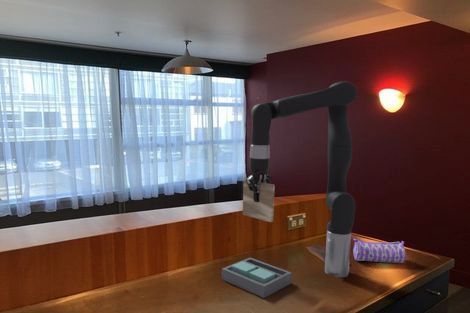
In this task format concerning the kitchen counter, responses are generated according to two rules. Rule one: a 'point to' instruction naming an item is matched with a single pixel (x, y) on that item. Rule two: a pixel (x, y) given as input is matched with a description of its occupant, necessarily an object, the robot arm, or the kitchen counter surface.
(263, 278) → the offcut
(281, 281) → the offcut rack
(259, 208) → the birch sheet
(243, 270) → the offcut
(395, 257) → the pencil case
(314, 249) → the wooden tablet
